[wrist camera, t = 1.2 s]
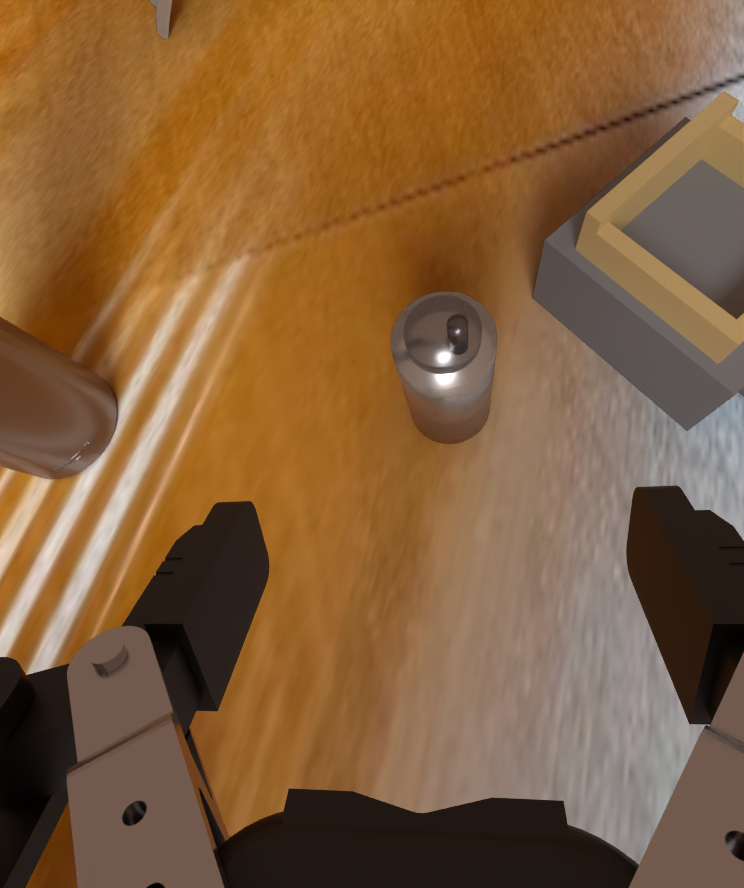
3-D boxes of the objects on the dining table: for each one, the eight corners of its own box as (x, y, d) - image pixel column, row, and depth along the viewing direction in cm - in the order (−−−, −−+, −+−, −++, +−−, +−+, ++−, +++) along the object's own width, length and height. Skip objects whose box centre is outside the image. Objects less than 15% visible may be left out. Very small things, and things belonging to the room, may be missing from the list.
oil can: (394, 404, 41) (357, 308, 27) (452, 354, 41) (443, 234, 28) (447, 459, 39) (435, 386, 26) (506, 407, 40) (526, 306, 26)
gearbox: (532, 297, 41) (552, 202, 31) (651, 193, 42) (708, 66, 32) (725, 463, 36) (822, 412, 26) (856, 342, 37) (1001, 247, 27)
